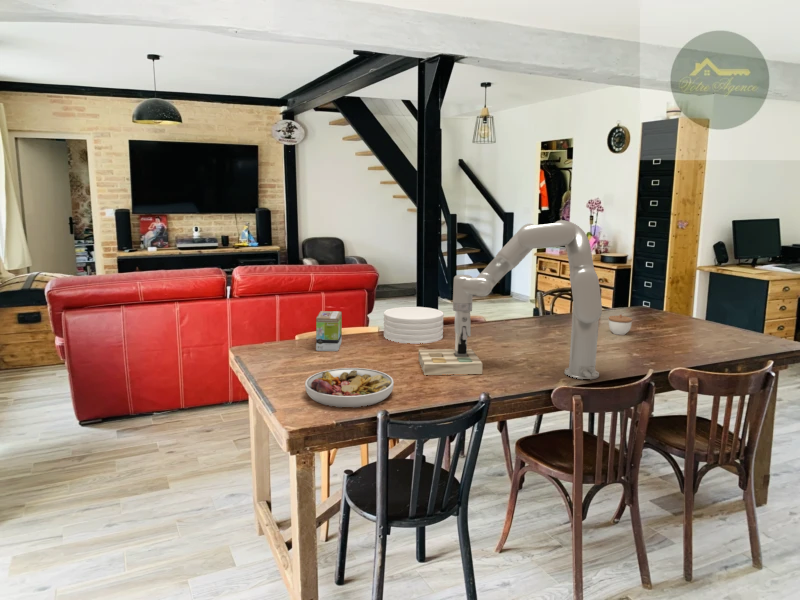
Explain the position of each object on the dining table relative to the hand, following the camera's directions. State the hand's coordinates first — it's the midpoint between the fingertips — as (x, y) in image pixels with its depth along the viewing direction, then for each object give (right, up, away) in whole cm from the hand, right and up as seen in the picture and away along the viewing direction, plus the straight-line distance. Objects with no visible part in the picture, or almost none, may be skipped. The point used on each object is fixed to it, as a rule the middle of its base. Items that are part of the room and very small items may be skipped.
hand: (460, 351), depth 237 cm
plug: (0, -2, 0) cm, 2 cm away
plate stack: (-18, +3, +47) cm, 50 cm away
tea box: (-55, 0, +27) cm, 62 cm away
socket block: (-5, -6, -1) cm, 8 cm away
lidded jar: (+83, +4, +55) cm, 100 cm away
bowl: (-41, -12, -32) cm, 54 cm away
